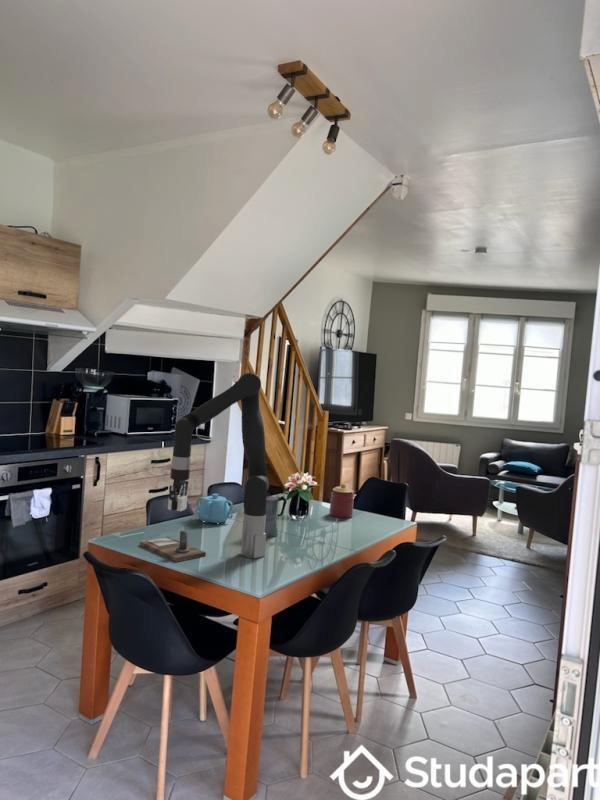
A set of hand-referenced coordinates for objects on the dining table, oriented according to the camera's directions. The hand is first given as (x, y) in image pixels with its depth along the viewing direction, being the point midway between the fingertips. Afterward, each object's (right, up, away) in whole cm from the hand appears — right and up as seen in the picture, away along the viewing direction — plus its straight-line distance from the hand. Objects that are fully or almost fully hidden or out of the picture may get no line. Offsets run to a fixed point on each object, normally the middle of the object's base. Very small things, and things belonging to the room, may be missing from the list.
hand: (177, 508), depth 246 cm
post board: (-3, -18, +3) cm, 18 cm away
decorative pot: (+7, -16, +54) cm, 57 cm away
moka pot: (+35, -19, +37) cm, 55 cm away
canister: (+72, -20, +87) cm, 115 cm away
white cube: (0, 0, 0) cm, 0 cm away
